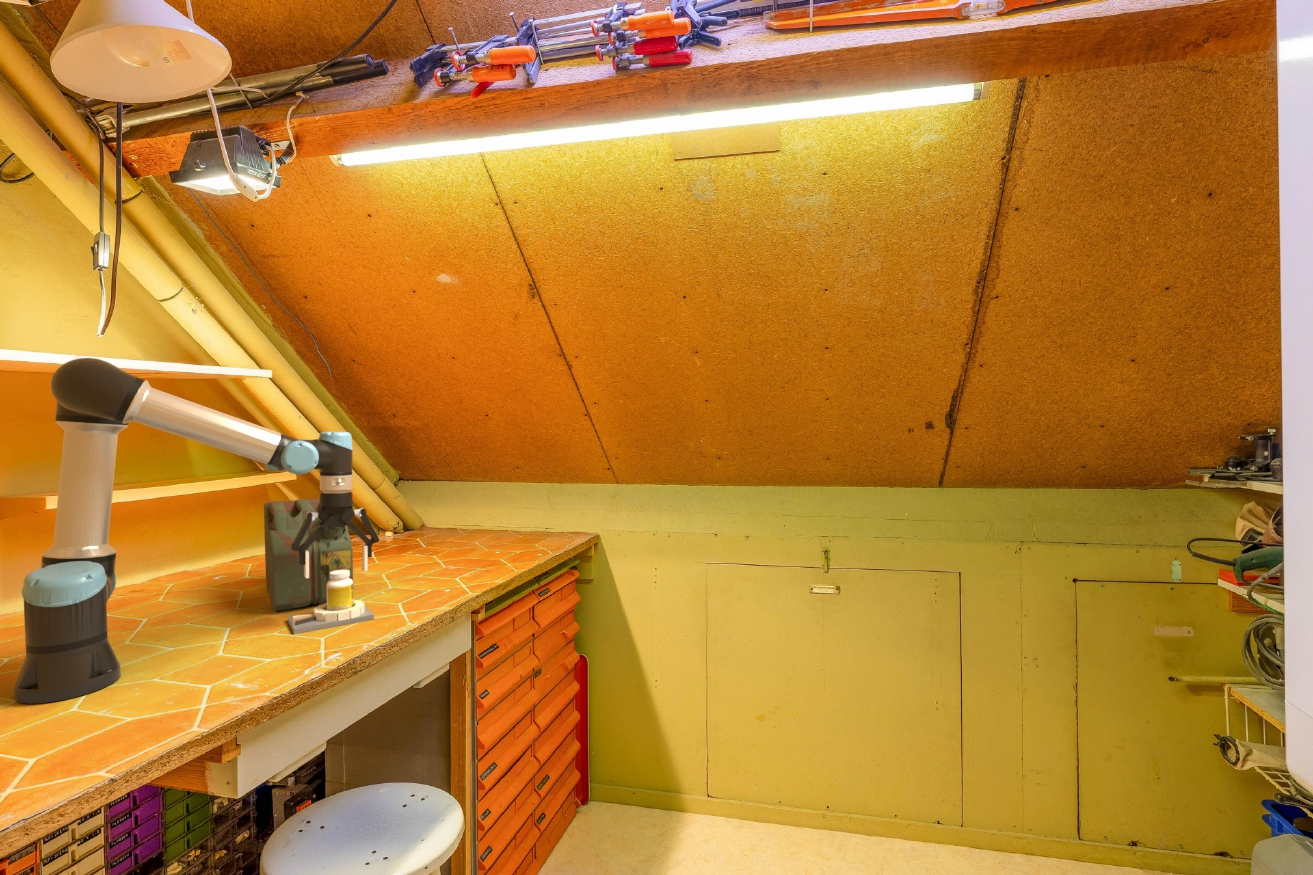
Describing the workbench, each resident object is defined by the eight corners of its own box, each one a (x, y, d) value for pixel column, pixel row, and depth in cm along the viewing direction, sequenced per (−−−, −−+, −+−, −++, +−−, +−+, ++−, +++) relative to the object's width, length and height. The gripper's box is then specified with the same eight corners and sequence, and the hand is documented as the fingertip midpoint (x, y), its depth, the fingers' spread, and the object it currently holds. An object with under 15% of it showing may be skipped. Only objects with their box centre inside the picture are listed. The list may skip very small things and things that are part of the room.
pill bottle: (357, 613, 163) (356, 571, 163) (332, 619, 158) (331, 575, 158) (348, 608, 167) (347, 567, 167) (323, 613, 163) (322, 571, 162)
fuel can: (274, 616, 166) (271, 513, 165) (266, 587, 194) (263, 500, 193) (354, 603, 177) (351, 507, 176) (335, 577, 205) (333, 495, 204)
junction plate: (294, 634, 151) (293, 620, 151) (287, 621, 161) (287, 609, 161) (374, 619, 162) (373, 606, 162) (363, 608, 172) (363, 596, 172)
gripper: (281, 495, 151) (282, 583, 152) (391, 490, 166) (391, 569, 167) (278, 492, 157) (278, 577, 158) (384, 487, 172) (384, 564, 173)
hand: (336, 573), depth 162 cm, fingers open, 13 cm apart
